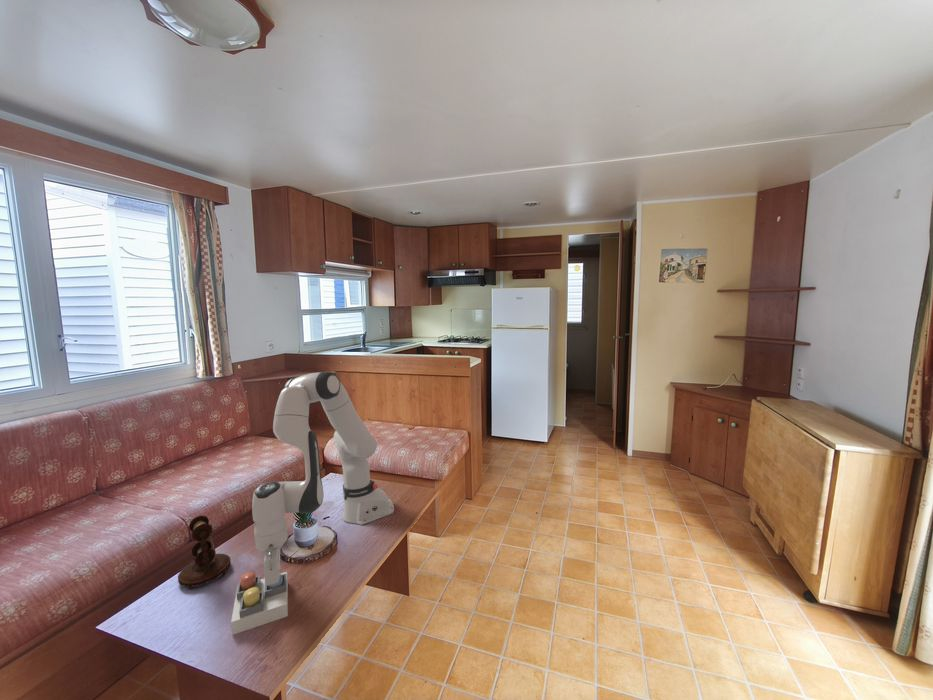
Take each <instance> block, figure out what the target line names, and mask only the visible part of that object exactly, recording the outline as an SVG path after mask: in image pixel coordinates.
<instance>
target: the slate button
mask: <svg viewBox="0 0 933 700" xmlns="http://www.w3.org/2000/svg"><path fill="white" fill-rule="evenodd" d="M279 586H283V577H282V575H281V573H280V577H279V582H278V583H275V584H272V585H269V586H268V587H269V590H270V589H273V588H276V587H279Z"/></svg>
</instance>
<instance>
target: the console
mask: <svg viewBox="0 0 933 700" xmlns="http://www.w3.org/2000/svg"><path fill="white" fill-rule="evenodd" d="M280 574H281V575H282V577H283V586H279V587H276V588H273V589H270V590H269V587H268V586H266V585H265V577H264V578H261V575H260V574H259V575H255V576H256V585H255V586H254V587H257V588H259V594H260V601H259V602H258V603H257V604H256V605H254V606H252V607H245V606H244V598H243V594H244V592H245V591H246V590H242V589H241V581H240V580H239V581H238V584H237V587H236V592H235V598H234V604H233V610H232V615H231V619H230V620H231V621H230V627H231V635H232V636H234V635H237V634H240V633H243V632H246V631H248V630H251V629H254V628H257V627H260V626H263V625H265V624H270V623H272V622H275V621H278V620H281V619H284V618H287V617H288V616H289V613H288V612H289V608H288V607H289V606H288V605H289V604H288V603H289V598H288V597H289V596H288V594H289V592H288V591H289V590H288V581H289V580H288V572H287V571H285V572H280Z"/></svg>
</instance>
